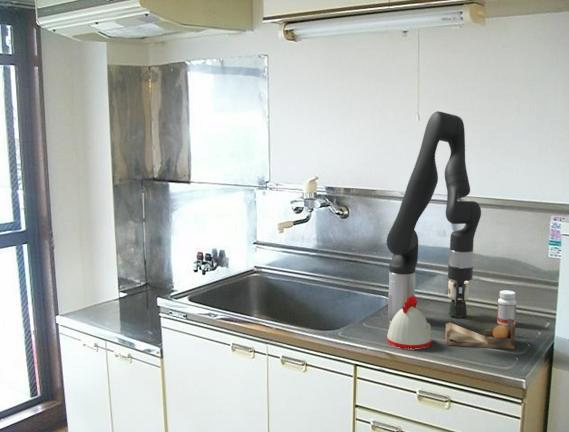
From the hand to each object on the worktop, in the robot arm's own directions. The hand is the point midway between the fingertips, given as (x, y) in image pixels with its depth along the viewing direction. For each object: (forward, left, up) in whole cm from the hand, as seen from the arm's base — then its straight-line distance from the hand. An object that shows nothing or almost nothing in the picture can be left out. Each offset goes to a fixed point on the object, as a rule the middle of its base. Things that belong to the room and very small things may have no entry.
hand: (458, 313), depth 200 cm
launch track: (+7, 0, -11) cm, 13 cm away
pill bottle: (+18, +22, -10) cm, 30 cm away
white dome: (-15, -3, -10) cm, 18 cm away
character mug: (+2, +28, -10) cm, 30 cm away
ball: (+13, 0, -6) cm, 15 cm away
